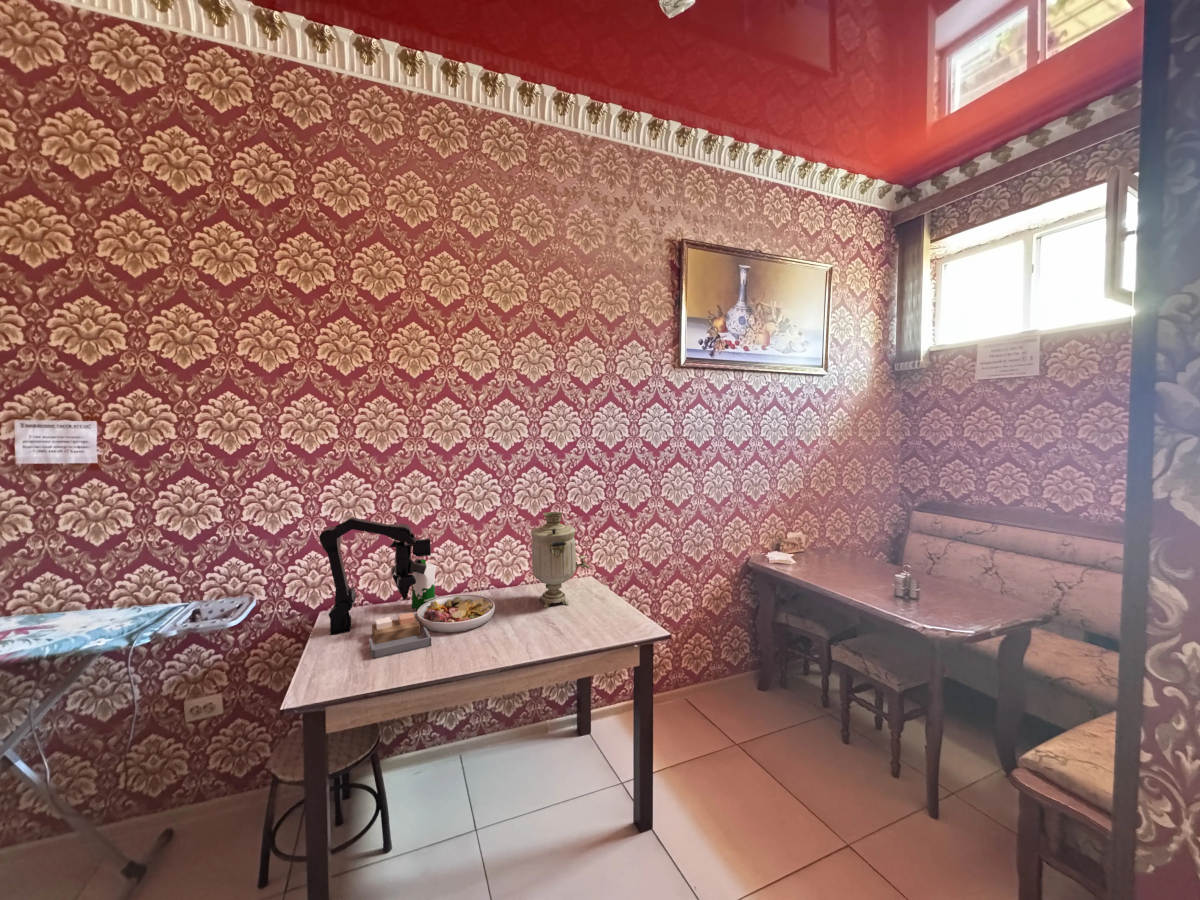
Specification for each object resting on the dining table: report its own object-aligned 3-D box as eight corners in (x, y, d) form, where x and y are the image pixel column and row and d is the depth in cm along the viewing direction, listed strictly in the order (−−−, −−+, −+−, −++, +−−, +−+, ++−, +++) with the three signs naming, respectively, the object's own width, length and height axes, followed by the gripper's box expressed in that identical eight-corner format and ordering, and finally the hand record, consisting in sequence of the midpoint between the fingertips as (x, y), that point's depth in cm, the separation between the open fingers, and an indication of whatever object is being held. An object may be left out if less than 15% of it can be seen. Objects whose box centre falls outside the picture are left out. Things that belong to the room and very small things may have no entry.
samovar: (587, 616, 193) (588, 521, 191) (524, 615, 194) (525, 520, 192) (590, 591, 223) (591, 508, 221) (535, 590, 224) (536, 507, 221)
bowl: (449, 601, 209) (449, 584, 208) (508, 611, 199) (508, 593, 198) (400, 628, 180) (400, 608, 180) (465, 641, 170) (465, 620, 170)
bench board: (375, 645, 166) (375, 634, 165) (372, 634, 174) (372, 624, 174) (419, 636, 174) (419, 625, 173) (414, 626, 182) (414, 616, 182)
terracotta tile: (400, 625, 174) (400, 619, 173) (398, 620, 178) (398, 615, 178) (414, 622, 176) (414, 617, 176) (412, 617, 180) (412, 612, 180)
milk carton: (426, 601, 207) (425, 557, 206) (439, 606, 202) (439, 560, 201) (408, 608, 200) (408, 561, 198) (421, 613, 195) (421, 565, 194)
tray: (372, 659, 156) (372, 650, 156) (369, 647, 165) (368, 638, 164) (431, 646, 166) (431, 637, 166) (425, 635, 175) (425, 627, 174)
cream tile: (376, 629, 169) (376, 624, 169) (375, 624, 174) (375, 619, 173) (391, 626, 172) (391, 621, 172) (389, 621, 176) (389, 616, 176)
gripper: (429, 560, 179) (429, 600, 180) (419, 549, 195) (419, 585, 196) (398, 564, 173) (398, 605, 174) (390, 552, 189) (390, 590, 190)
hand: (403, 596), depth 184 cm, fingers open, 7 cm apart
